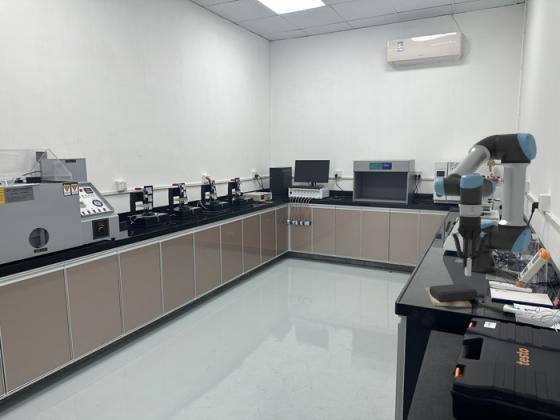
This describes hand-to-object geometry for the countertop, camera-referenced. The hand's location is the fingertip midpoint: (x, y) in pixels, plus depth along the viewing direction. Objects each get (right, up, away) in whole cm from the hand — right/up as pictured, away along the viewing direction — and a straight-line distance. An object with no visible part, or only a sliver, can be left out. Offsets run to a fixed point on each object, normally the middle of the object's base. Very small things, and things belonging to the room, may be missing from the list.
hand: (467, 275), depth 150 cm
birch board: (-7, -9, +3) cm, 12 cm away
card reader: (+2, -6, 0) cm, 7 cm away
